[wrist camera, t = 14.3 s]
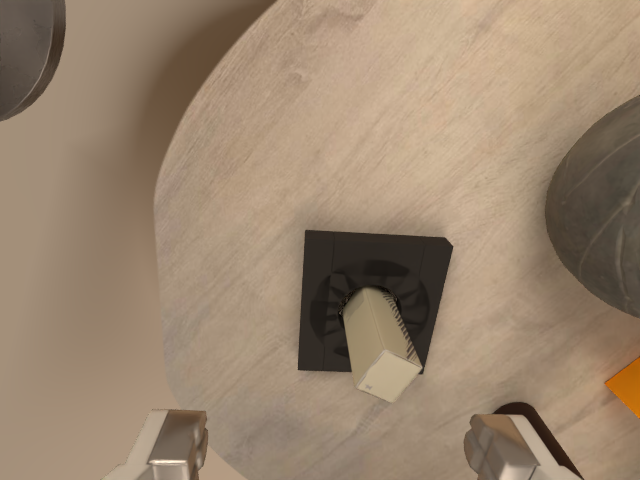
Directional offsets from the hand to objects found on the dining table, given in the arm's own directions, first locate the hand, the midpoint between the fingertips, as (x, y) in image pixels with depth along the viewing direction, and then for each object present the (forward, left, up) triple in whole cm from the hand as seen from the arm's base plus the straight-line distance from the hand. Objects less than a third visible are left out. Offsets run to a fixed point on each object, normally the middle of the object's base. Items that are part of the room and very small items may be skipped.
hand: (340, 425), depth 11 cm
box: (+7, -14, -29) cm, 33 cm away
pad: (+7, -14, -29) cm, 33 cm away
